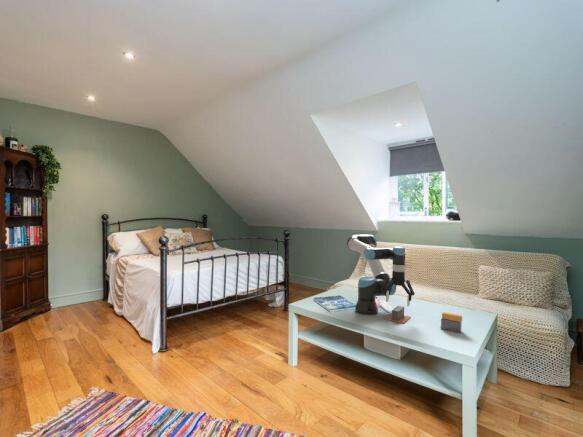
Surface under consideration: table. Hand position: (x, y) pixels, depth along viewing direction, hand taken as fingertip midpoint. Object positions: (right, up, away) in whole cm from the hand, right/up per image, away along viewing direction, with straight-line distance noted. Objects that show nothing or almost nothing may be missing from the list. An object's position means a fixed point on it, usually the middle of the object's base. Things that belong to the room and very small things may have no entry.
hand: (397, 303), depth 198 cm
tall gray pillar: (0, -9, -1) cm, 9 cm away
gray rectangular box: (+24, -10, -19) cm, 33 cm away
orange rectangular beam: (+25, -4, -20) cm, 32 cm away
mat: (0, -10, 0) cm, 10 cm away
